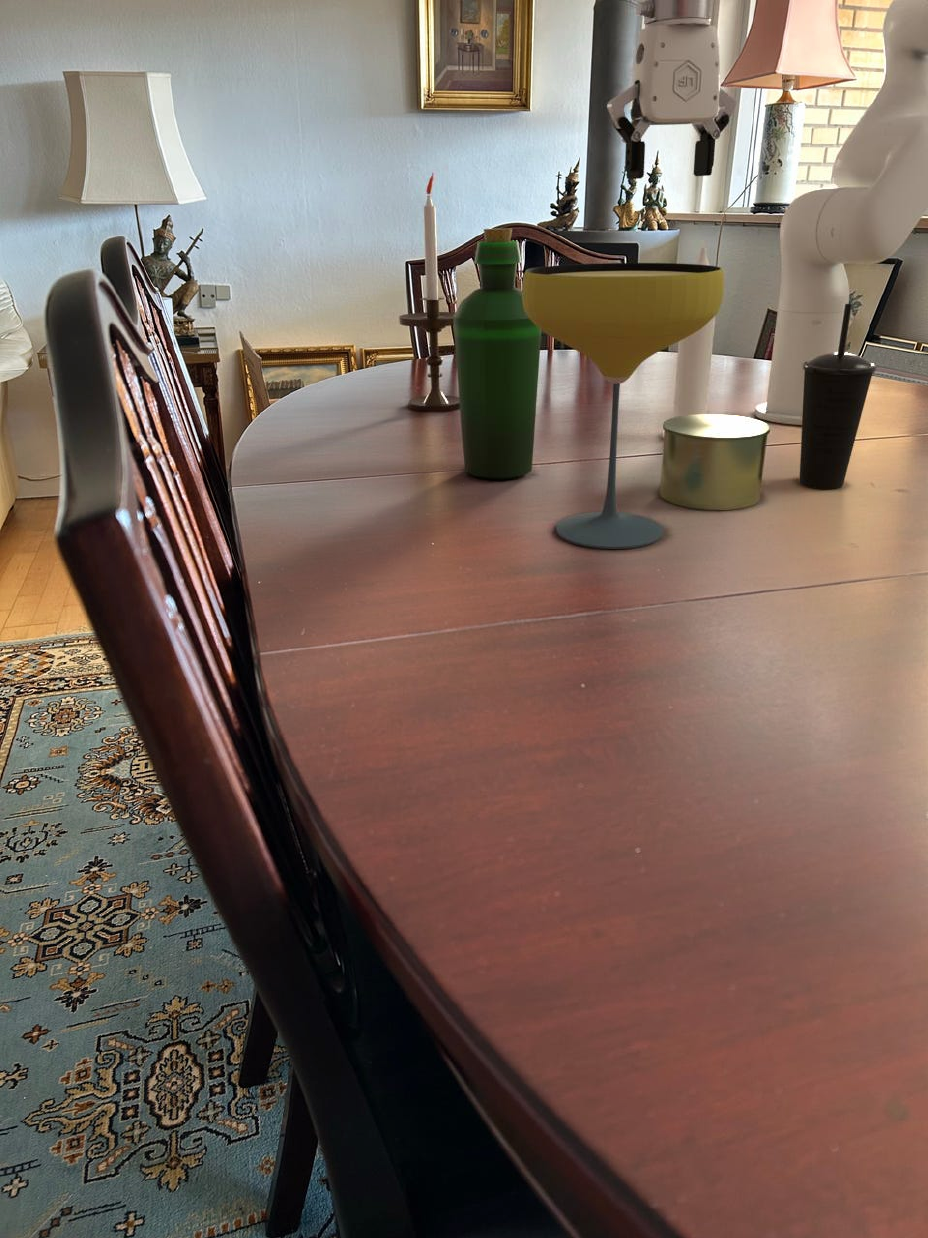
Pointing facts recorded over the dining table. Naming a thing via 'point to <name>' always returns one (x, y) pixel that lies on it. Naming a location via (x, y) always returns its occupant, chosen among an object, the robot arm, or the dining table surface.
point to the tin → (713, 461)
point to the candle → (694, 367)
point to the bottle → (497, 366)
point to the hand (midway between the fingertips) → (669, 176)
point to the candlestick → (431, 318)
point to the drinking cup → (832, 412)
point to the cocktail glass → (619, 349)
